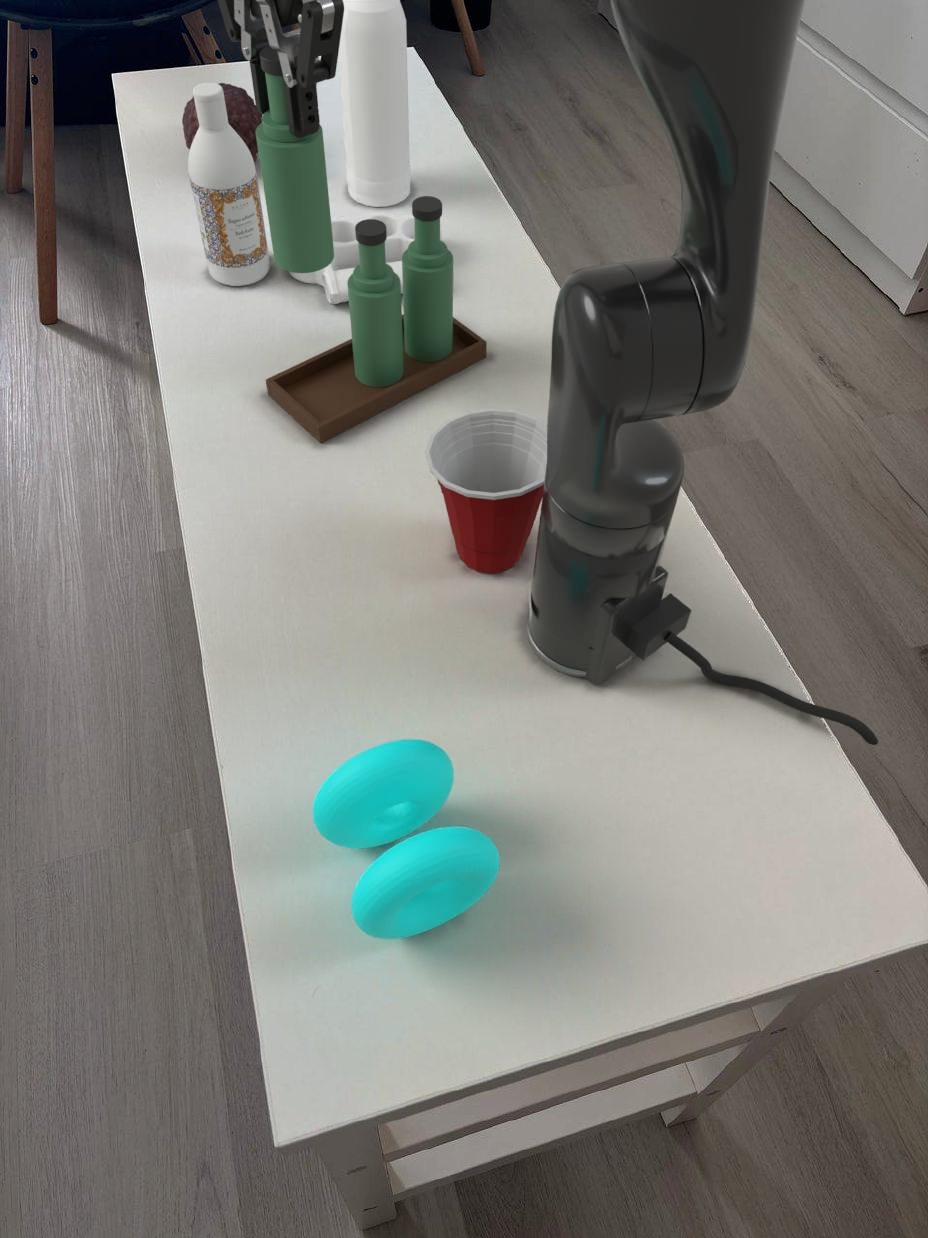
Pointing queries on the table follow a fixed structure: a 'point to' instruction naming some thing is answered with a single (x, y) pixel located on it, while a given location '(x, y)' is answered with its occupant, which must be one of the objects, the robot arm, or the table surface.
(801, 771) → the table surface
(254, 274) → the bath foam
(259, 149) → the loose bottle
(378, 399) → the tray
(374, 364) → the tray bottle
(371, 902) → the turquoise yo-yo
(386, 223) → the white piece
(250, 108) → the pine cone
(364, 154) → the bottle
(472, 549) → the plastic cup
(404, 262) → the tray bottle
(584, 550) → the robot arm
